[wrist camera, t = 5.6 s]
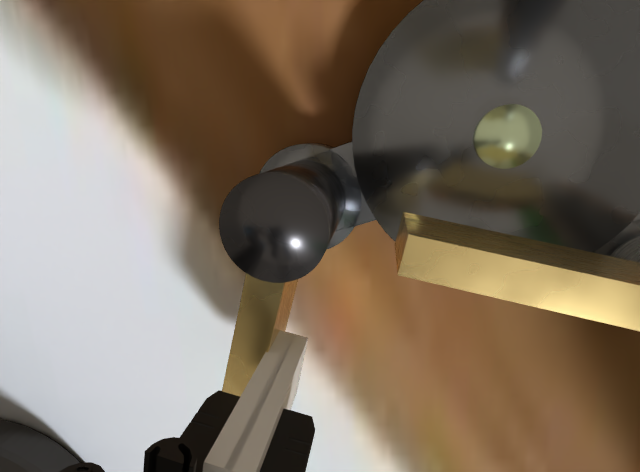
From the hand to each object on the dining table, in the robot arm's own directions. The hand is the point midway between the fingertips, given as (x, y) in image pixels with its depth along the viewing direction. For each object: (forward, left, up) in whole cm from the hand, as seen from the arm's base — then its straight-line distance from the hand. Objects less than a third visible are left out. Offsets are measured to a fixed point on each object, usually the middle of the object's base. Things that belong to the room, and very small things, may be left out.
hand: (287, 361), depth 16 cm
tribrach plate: (+6, +13, -5) cm, 15 cm away
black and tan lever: (-1, +2, -3) cm, 4 cm away
